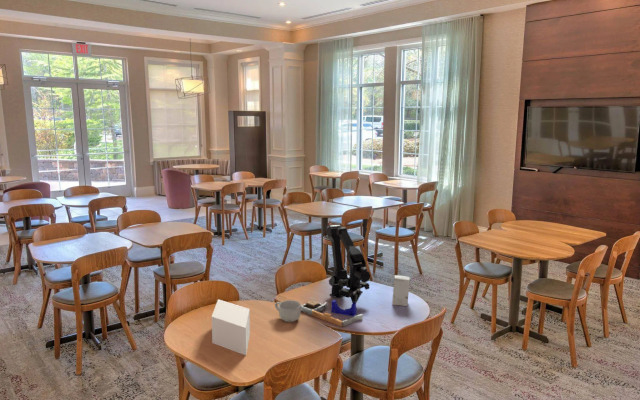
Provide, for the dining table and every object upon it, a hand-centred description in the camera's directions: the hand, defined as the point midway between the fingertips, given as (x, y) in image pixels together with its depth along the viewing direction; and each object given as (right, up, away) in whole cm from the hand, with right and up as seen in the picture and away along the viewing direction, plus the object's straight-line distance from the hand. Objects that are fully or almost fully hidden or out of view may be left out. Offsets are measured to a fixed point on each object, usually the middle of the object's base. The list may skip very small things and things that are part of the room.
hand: (354, 304), depth 250 cm
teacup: (-34, -4, -15) cm, 37 cm away
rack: (-12, -3, -10) cm, 16 cm away
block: (-57, -7, -36) cm, 68 cm away
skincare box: (+25, -1, +6) cm, 26 cm away
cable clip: (-6, -3, -7) cm, 9 cm away
